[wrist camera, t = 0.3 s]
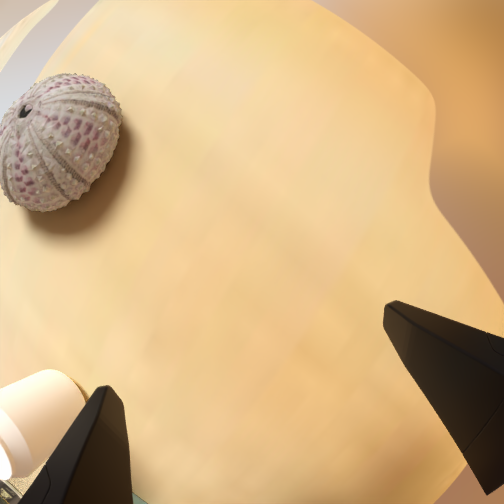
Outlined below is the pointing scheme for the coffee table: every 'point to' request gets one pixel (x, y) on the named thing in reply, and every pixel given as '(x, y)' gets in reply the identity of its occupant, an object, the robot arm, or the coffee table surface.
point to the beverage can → (35, 420)
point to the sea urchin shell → (57, 141)
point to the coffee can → (8, 493)
